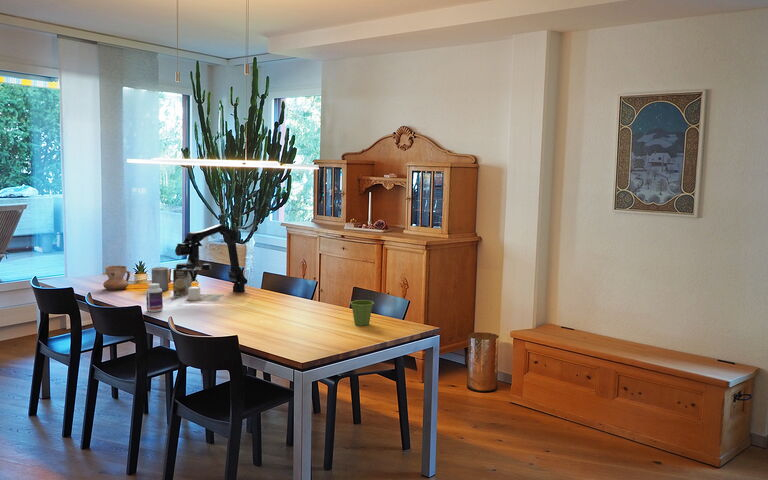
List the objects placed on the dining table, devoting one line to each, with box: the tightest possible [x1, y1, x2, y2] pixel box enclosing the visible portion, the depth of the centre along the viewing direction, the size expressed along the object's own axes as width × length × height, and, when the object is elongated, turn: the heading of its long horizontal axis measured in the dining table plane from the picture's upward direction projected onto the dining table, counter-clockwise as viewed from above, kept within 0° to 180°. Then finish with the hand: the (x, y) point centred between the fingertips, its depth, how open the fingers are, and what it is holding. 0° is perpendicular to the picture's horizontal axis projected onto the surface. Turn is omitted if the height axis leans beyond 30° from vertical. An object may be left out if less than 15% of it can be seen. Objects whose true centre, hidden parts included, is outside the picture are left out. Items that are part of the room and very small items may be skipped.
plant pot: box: [349, 299, 375, 327], centre depth 330 cm, size 12×12×11 cm
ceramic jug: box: [102, 264, 131, 291], centre depth 410 cm, size 18×14×14 cm
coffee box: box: [172, 268, 192, 297], centre depth 394 cm, size 9×6×16 cm
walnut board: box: [184, 293, 224, 302], centre depth 384 cm, size 18×20×1 cm
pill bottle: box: [145, 283, 164, 313], centre depth 352 cm, size 8×8×14 cm
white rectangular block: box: [187, 286, 201, 300], centre depth 379 cm, size 5×5×7 cm
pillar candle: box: [151, 266, 170, 292], centre depth 409 cm, size 10×10×15 cm
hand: (194, 281), depth 379 cm, fingers closed
